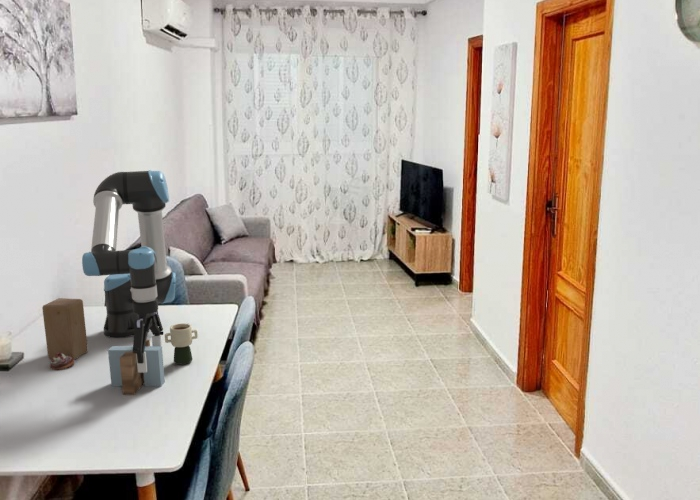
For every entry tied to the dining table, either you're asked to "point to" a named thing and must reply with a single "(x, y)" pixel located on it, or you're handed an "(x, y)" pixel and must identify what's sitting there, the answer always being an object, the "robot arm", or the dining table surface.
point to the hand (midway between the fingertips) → (150, 363)
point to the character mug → (181, 342)
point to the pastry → (61, 362)
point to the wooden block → (65, 327)
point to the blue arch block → (153, 365)
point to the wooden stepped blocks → (131, 372)
